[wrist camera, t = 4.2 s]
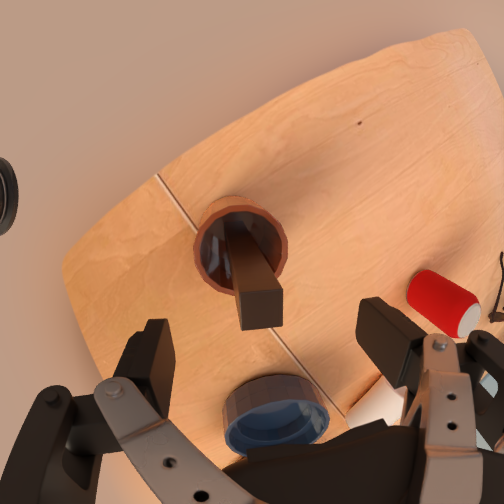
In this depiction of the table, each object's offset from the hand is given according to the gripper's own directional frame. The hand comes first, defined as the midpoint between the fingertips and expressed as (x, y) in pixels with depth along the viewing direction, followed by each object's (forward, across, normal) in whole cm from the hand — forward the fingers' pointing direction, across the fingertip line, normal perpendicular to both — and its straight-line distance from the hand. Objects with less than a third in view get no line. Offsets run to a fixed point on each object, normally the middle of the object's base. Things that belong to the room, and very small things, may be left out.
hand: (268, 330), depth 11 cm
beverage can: (+21, -27, +10) cm, 35 cm away
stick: (+20, 0, 0) cm, 20 cm away
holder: (+20, 0, 0) cm, 20 cm away
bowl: (+20, -4, +28) cm, 35 cm away
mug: (+21, -24, +32) cm, 45 cm away
